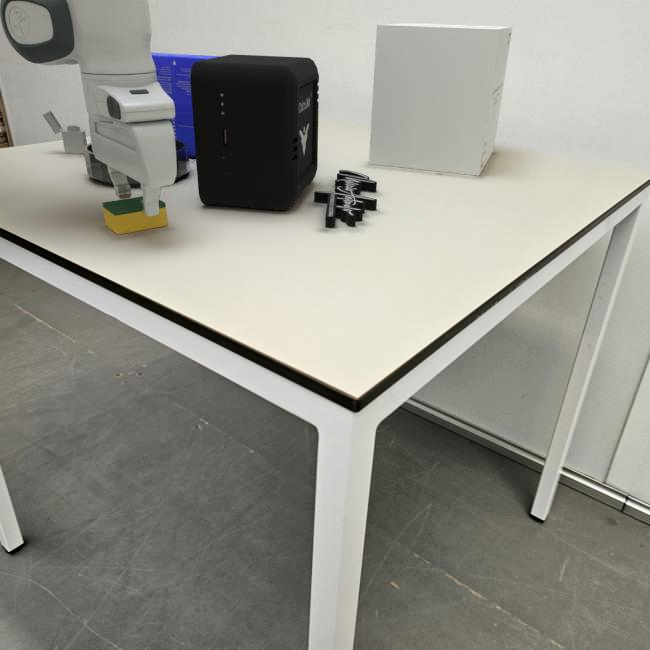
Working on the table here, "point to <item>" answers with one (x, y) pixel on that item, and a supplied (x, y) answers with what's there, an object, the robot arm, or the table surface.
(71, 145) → the lighter
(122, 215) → the sponge
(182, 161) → the bowl
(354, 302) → the table surface
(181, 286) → the table surface
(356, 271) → the table surface
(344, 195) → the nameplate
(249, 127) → the black computer case
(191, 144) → the blue box
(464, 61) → the cube
